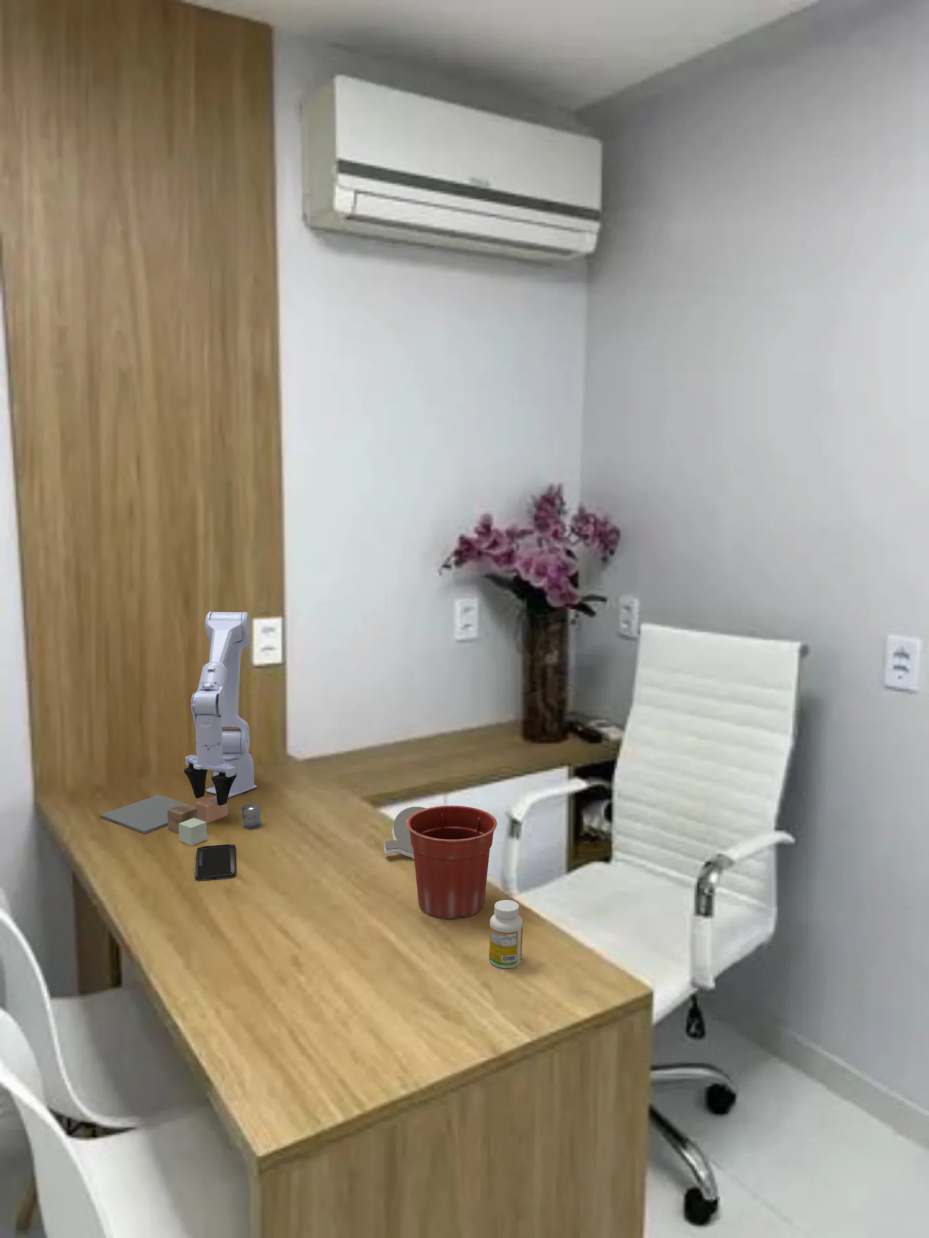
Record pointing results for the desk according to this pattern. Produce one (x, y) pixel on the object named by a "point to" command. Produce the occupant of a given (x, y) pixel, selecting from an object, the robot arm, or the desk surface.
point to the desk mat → (143, 814)
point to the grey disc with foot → (401, 834)
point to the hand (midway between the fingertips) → (211, 800)
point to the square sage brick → (192, 831)
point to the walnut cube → (180, 816)
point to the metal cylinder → (251, 816)
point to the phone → (215, 862)
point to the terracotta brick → (211, 809)
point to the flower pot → (451, 858)
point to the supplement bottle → (506, 935)
